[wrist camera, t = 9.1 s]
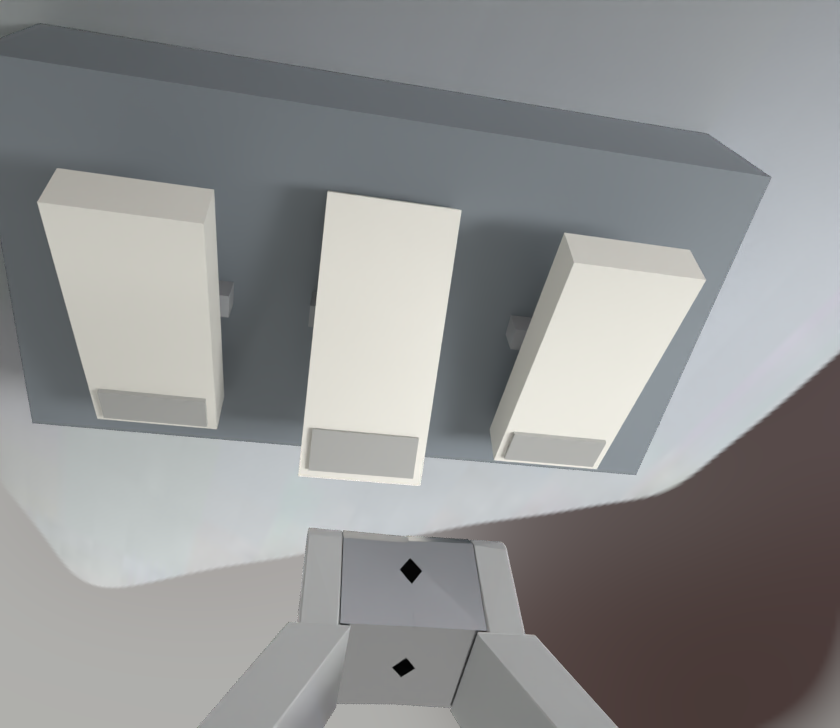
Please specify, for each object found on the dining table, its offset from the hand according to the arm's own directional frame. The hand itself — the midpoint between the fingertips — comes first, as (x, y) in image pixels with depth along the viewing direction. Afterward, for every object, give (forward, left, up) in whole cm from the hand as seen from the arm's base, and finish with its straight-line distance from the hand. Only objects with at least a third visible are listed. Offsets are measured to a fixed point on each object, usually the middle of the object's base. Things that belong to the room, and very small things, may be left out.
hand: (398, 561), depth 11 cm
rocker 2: (0, +3, -12) cm, 12 cm away
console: (0, +3, -19) cm, 19 cm away
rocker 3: (-7, +3, -12) cm, 14 cm away
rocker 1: (+7, +3, -12) cm, 14 cm away
